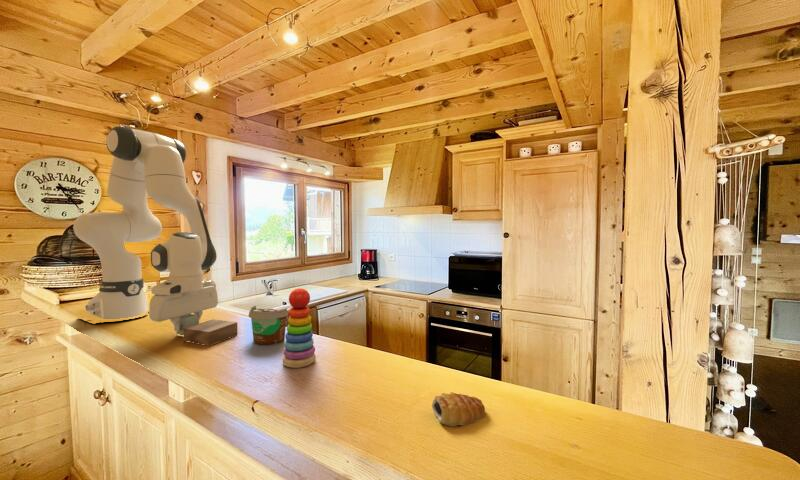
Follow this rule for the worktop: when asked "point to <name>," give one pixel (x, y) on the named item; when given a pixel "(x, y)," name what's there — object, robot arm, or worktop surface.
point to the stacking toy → (299, 332)
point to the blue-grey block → (187, 321)
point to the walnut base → (210, 332)
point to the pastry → (457, 409)
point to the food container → (268, 325)
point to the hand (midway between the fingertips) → (187, 328)
